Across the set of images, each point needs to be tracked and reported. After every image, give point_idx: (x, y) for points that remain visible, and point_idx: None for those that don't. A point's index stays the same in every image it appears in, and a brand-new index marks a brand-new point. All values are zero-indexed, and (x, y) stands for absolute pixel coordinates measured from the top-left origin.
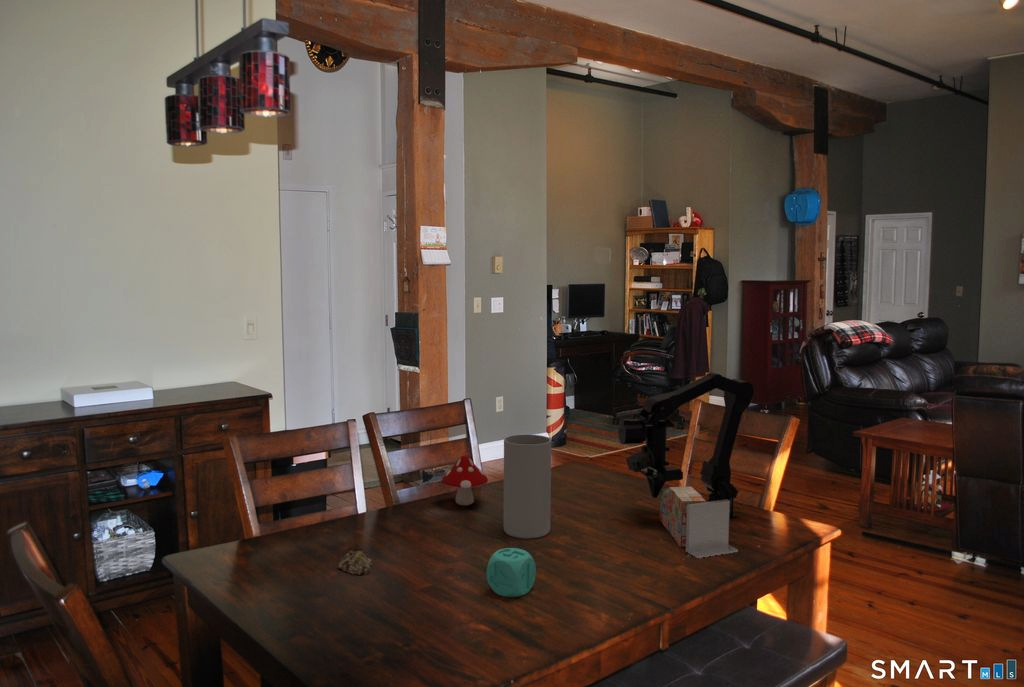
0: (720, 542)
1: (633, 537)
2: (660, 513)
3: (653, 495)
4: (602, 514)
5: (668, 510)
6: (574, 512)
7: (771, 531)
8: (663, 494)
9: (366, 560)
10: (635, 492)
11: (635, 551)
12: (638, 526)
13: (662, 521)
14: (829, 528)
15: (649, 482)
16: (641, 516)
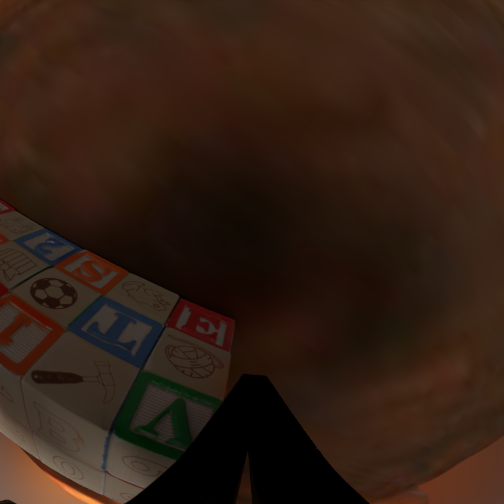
0: None
1: (94, 49)
2: (224, 339)
3: (236, 383)
4: (453, 118)
5: (18, 288)
6: (496, 52)
7: None
8: (88, 403)
9: None
10: (499, 392)
11: (14, 21)
12: (206, 151)
13: (173, 298)
14: (79, 499)
15: (299, 480)
16: (339, 276)
